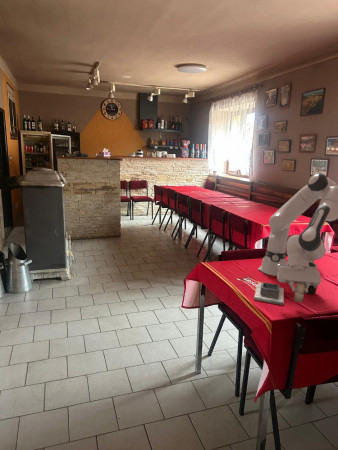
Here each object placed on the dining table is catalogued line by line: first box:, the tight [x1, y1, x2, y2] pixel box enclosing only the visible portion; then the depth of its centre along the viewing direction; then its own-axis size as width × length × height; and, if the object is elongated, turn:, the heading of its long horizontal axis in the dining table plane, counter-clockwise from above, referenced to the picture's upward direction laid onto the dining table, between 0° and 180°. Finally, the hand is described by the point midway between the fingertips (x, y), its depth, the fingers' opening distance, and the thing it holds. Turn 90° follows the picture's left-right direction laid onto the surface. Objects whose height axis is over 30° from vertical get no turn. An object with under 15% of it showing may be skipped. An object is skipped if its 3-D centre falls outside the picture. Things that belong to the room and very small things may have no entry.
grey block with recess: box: [253, 281, 285, 306], centre depth 175 cm, size 20×14×5 cm
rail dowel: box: [293, 282, 305, 303], centre depth 159 cm, size 4×4×8 cm
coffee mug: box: [305, 285, 318, 296], centre depth 182 cm, size 12×9×10 cm
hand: (300, 291), depth 159 cm, fingers closed on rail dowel, 4 cm apart
